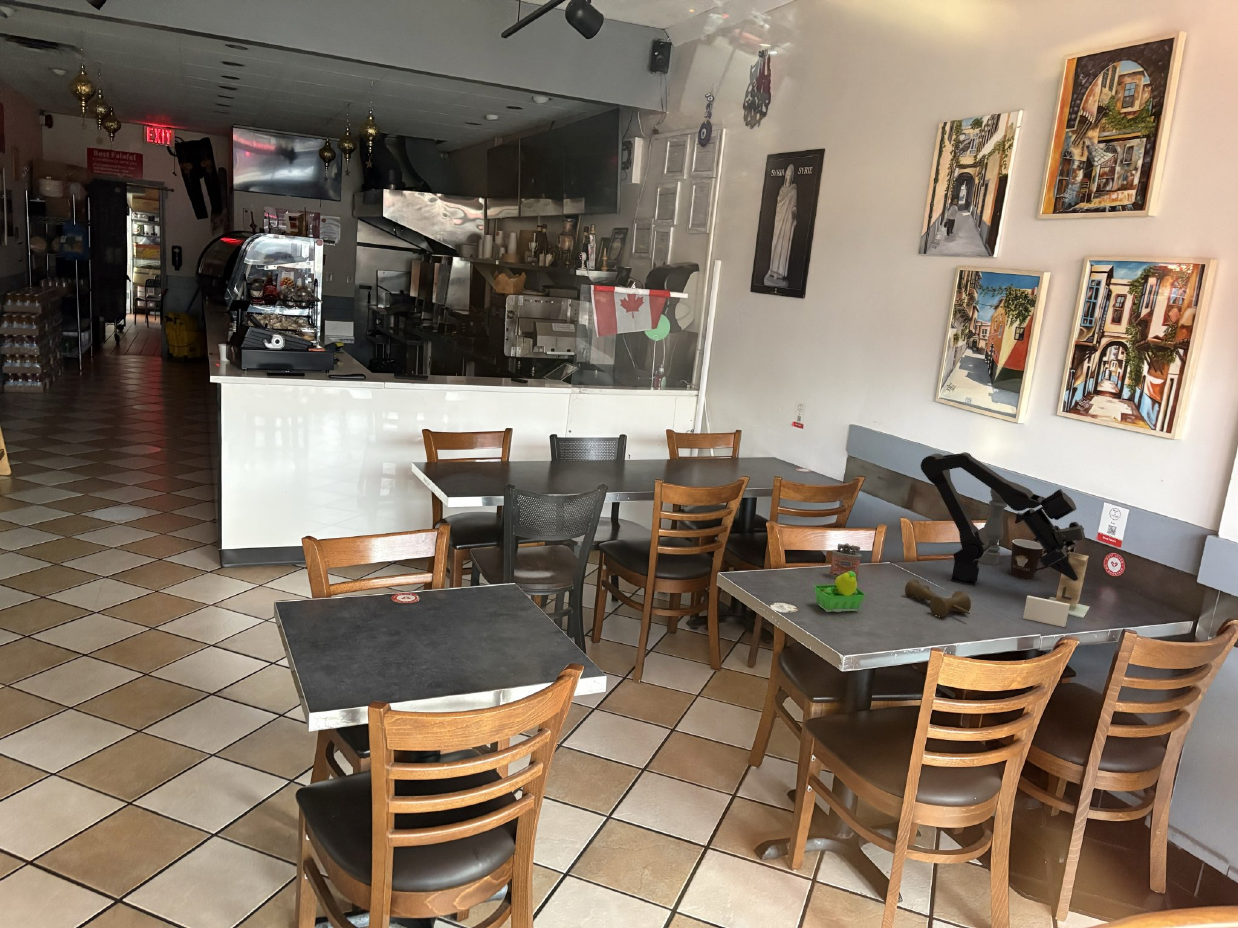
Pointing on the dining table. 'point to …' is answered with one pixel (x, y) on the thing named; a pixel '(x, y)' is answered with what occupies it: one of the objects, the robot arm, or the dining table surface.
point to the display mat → (1075, 609)
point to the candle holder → (994, 529)
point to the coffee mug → (1025, 558)
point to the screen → (1046, 611)
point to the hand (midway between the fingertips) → (1078, 577)
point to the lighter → (845, 560)
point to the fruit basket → (840, 593)
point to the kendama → (939, 599)
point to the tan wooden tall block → (1068, 587)
